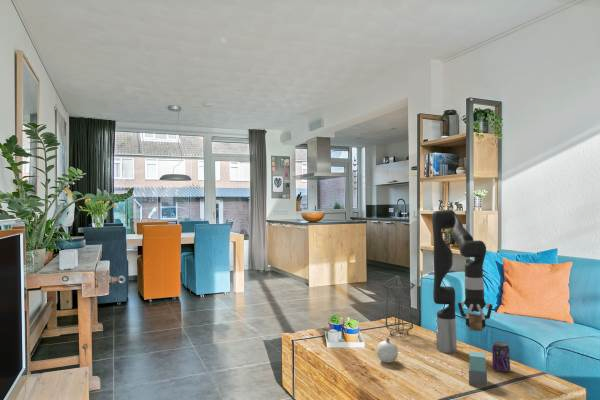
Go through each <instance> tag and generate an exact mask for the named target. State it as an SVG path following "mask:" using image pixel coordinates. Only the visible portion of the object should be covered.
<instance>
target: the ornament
mask: <svg viewBox="0 0 600 400" xmlns="http://www.w3.org/2000/svg"><path fill="white" fill-rule="evenodd" d="M398 354H399V349H398V347H397V345H396V343H394V341H392V340H390V338H389V337H386V339H385V340H382V341H380V342H379V343H378V344H377V347H376V355H377V358H378V359H379V360H380V361H381V362H383V363H386V364H390V363H393V362H395V361H396V360H397V358H398V356H399V355H398Z"/></svg>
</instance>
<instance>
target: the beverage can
mask: <svg viewBox="0 0 600 400" xmlns="http://www.w3.org/2000/svg"><path fill="white" fill-rule="evenodd" d="M491 355H492V356H491V357H492V369H493V370H495V371H496V372H499V373H507V372H510V371H511V358H510V357H511V356H510V348H509V344H508V343H507V342H504V341H494V342H492V347H491Z"/></svg>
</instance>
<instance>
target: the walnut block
mask: <svg viewBox="0 0 600 400" xmlns="http://www.w3.org/2000/svg"><path fill="white" fill-rule="evenodd" d="M468 328H469V331H475V332H483V328H482V316H481V315H480V313H472V312H471V313H470V315H469V327H468Z"/></svg>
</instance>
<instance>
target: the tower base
mask: <svg viewBox="0 0 600 400" xmlns="http://www.w3.org/2000/svg"><path fill="white" fill-rule="evenodd" d="M485 368H486V372H480V371H471V370H470V364H469V365H468V384H469V386H477V387H485V388H488V370H487V366H485Z"/></svg>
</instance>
